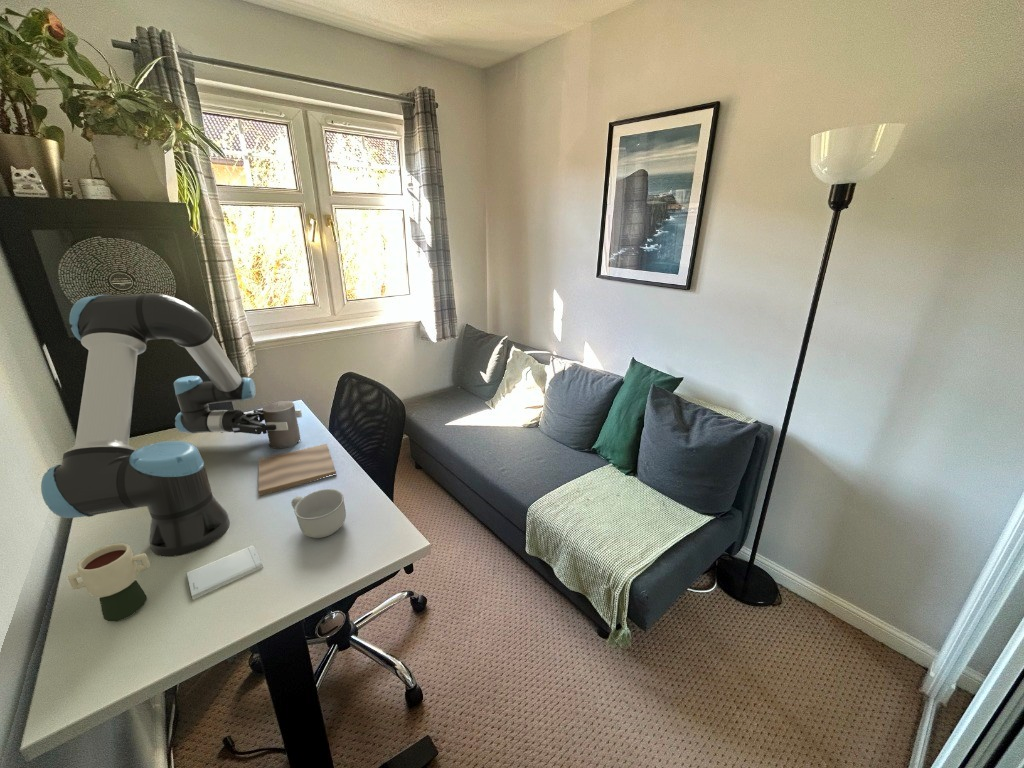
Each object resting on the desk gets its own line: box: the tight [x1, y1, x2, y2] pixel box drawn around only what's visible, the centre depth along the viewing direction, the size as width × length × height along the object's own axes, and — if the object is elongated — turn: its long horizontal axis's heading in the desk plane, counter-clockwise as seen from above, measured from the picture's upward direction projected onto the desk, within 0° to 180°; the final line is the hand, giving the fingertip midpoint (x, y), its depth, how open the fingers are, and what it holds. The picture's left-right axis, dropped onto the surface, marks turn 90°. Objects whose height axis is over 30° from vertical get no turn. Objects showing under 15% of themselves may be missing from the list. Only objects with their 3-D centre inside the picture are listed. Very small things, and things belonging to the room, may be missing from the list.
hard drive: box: [186, 544, 264, 600], centre depth 87 cm, size 2×8×12 cm
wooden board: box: [258, 443, 337, 496], centre depth 126 cm, size 20×20×2 cm
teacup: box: [290, 488, 347, 539], centre depth 99 cm, size 14×11×8 cm
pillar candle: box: [261, 400, 301, 450], centre depth 141 cm, size 10×10×15 cm
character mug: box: [67, 542, 151, 623], centre depth 76 cm, size 11×7×13 cm, turn 120°
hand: (294, 419), depth 140 cm, fingers closed on pillar candle, 10 cm apart
